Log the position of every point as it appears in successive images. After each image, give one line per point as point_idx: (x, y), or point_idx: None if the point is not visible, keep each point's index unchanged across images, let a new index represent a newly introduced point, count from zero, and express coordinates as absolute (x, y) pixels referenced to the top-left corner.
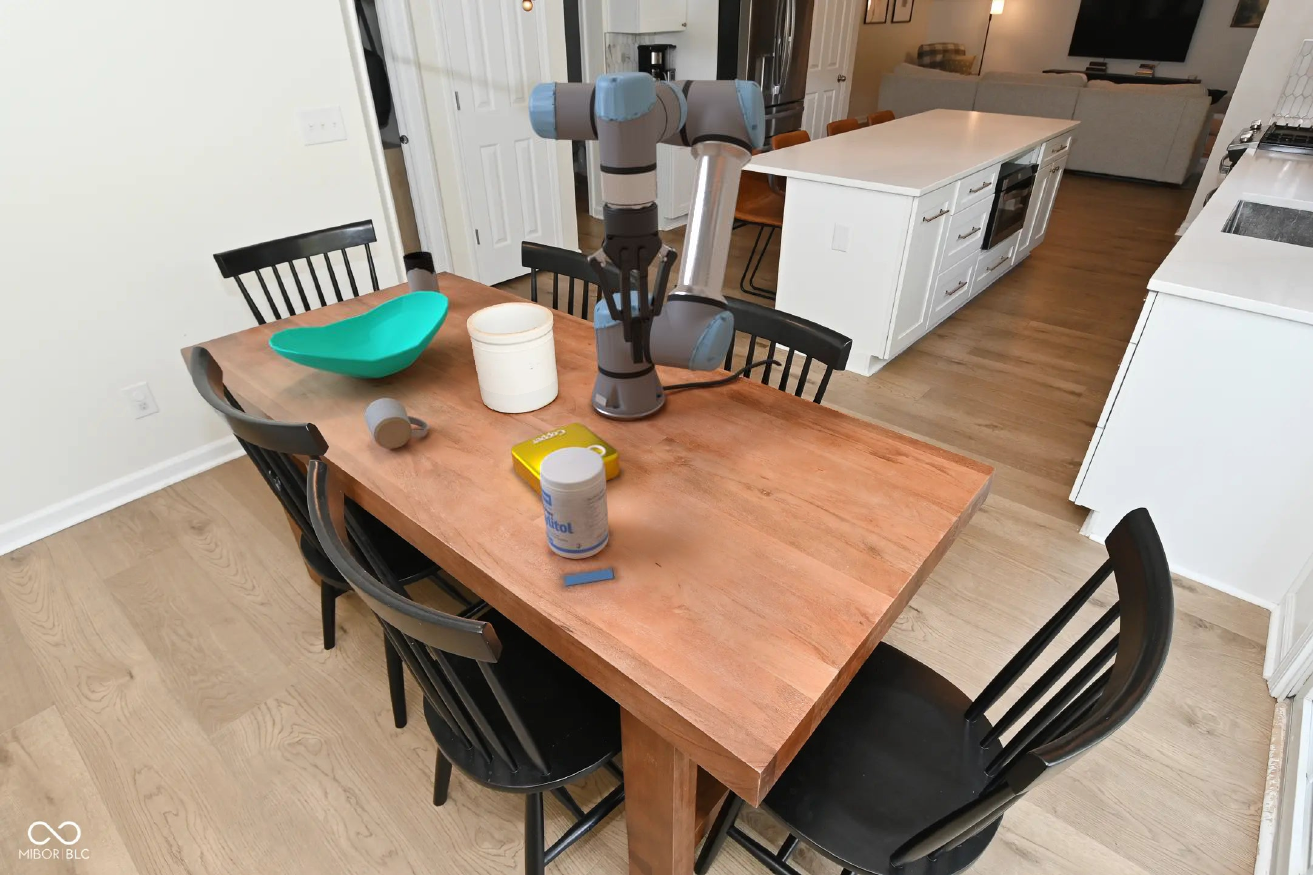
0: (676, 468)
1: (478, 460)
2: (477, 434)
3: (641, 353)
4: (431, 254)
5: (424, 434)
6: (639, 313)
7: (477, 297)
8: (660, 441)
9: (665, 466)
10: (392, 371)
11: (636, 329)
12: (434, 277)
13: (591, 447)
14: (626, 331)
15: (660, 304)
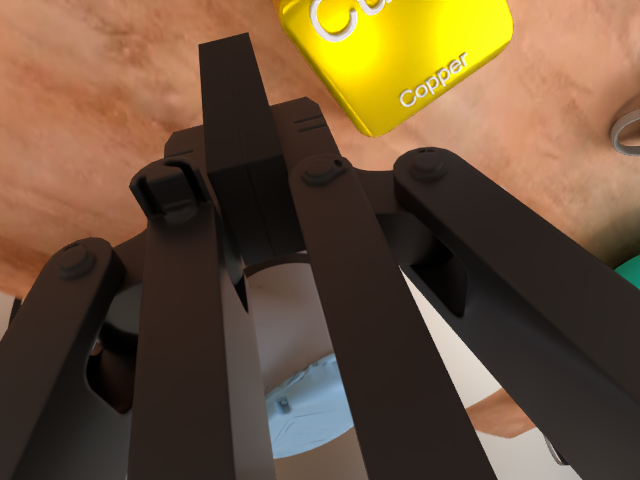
0: (135, 15)
1: (548, 46)
2: (534, 130)
3: (208, 66)
4: (563, 462)
5: (622, 119)
6: (236, 264)
7: (480, 415)
8: (193, 122)
9: (164, 24)
10: (637, 259)
11: (245, 136)
12: None
13: (344, 32)
14: (313, 136)
15: (26, 332)
